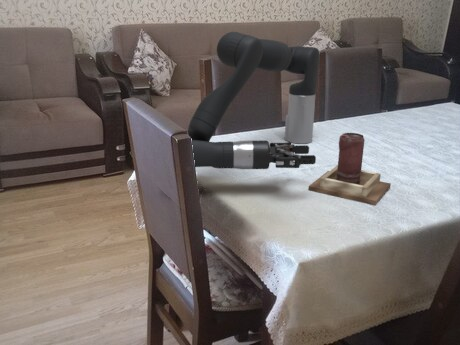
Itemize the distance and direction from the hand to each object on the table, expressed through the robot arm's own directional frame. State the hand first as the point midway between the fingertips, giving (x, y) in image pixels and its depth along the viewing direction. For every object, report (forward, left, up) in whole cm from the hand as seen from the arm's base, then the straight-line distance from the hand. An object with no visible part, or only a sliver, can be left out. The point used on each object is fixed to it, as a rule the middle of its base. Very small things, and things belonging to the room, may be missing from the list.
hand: (311, 154), depth 119 cm
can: (+8, +5, -9) cm, 13 cm away
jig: (+9, +6, -10) cm, 15 cm away
